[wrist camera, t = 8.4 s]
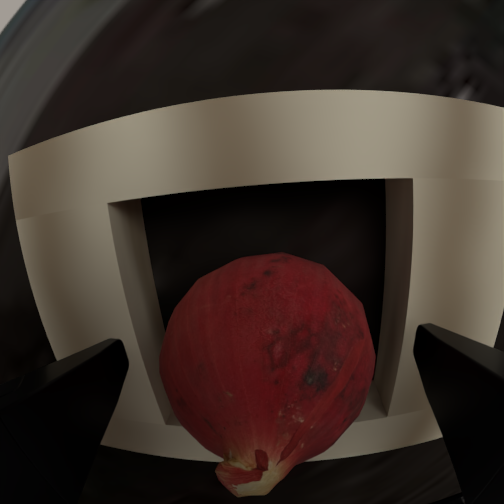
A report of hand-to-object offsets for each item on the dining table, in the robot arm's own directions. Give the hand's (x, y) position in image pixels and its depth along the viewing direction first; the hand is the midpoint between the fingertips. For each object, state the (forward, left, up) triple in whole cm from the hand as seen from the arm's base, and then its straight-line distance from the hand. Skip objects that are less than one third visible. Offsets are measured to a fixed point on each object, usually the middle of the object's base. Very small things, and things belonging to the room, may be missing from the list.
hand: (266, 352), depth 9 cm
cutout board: (0, 0, -4) cm, 4 cm away
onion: (0, 0, -4) cm, 4 cm away
